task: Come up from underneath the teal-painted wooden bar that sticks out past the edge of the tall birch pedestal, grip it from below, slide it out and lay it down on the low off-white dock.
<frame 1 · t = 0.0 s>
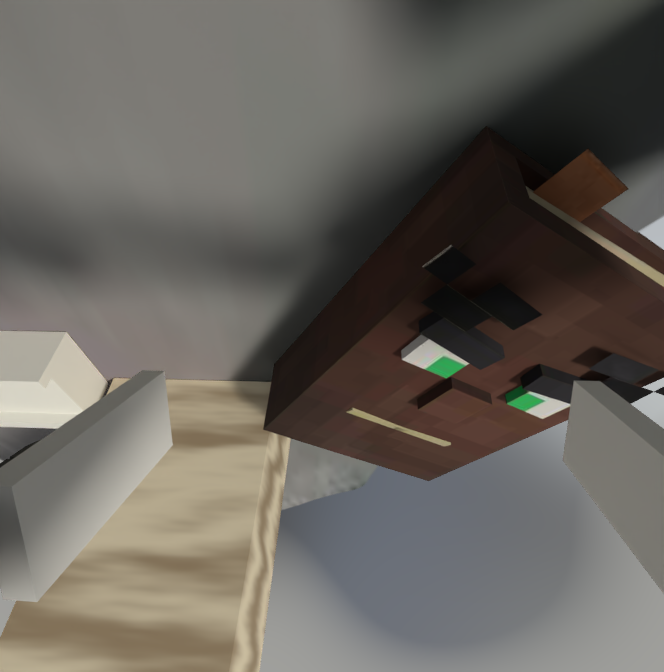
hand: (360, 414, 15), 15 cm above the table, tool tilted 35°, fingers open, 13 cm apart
decorative book: (444, 317, 35), on the table
dock: (12, 357, 42), on the table
pedestal: (208, 406, 47), on the table
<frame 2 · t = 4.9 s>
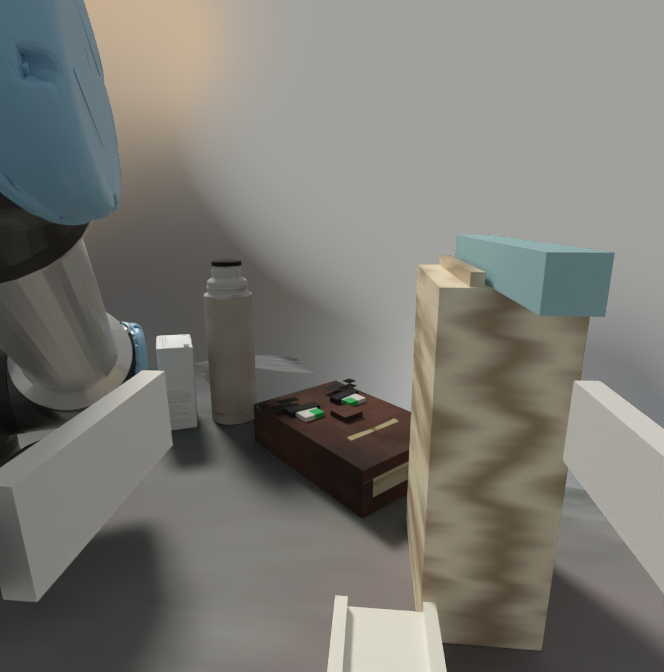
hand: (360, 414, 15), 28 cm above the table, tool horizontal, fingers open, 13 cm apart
bar: (503, 282, 33), point 30 cm above the table, touching pedestal
decorative book: (346, 458, 69), on the table
skincare box: (180, 421, 80), on the table
thermos bottle: (235, 416, 82), on the table
pedestal: (461, 573, 45), on the table
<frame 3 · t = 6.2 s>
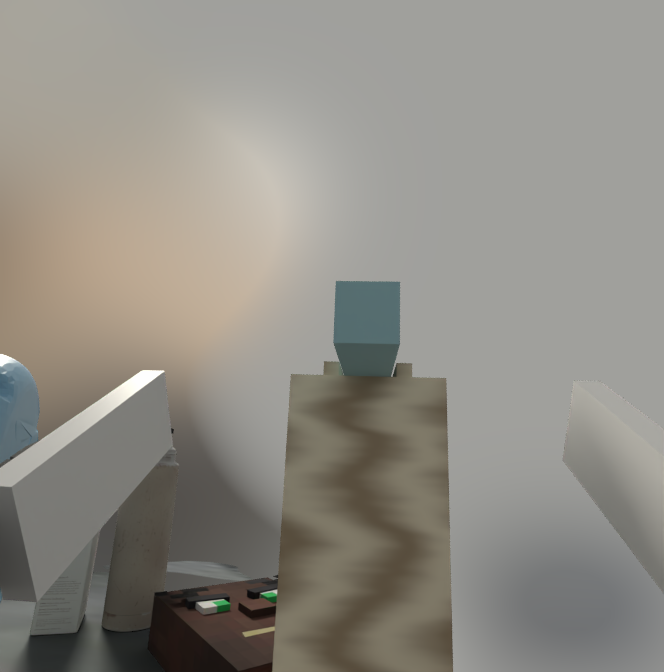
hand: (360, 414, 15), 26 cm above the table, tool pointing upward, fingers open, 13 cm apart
bar: (367, 383, 32), point 30 cm above the table, touching pedestal
skincare box: (60, 626, 64), on the table
thermos bottle: (131, 623, 66), on the table
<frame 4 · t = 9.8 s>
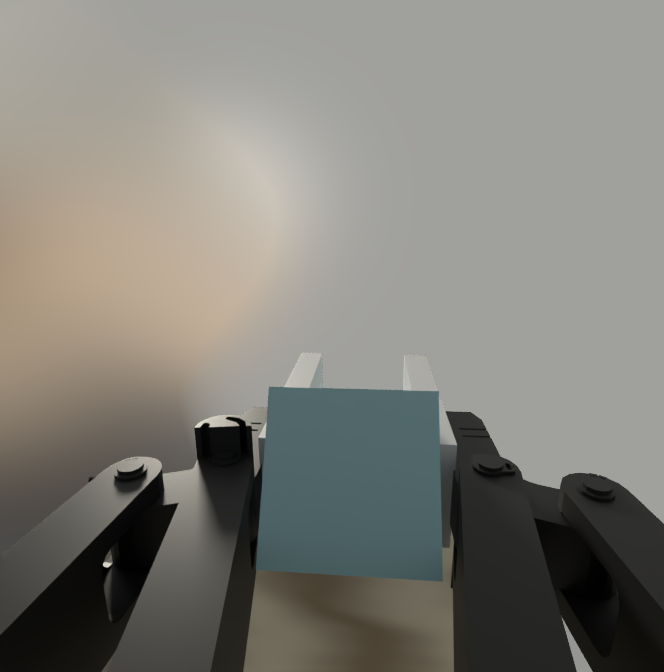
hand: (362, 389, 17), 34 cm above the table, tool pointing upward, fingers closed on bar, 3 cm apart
bar: (361, 501, 19), point 30 cm above the table, touching gripper, pedestal
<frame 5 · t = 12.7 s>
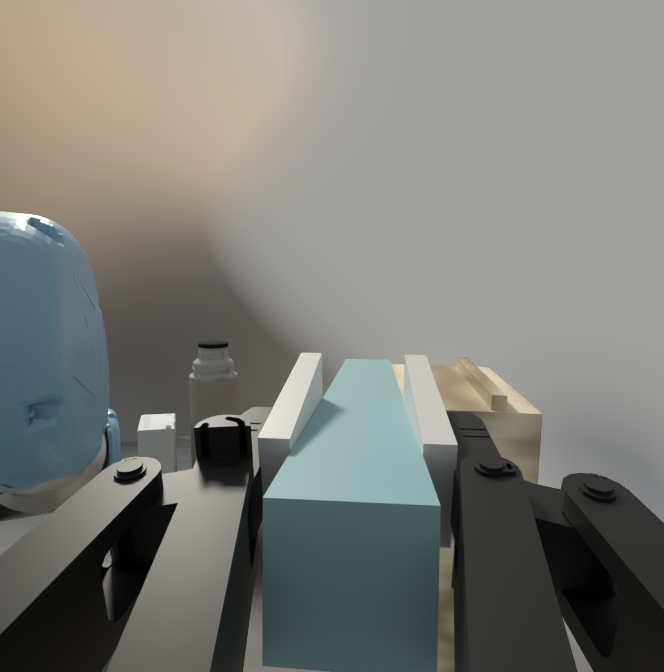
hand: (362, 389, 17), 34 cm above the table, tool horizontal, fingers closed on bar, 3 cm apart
bar: (363, 455, 20), point 31 cm above the table, touching gripper
skincare box: (159, 504, 78), on the table
thermos bottle: (216, 499, 80), on the table
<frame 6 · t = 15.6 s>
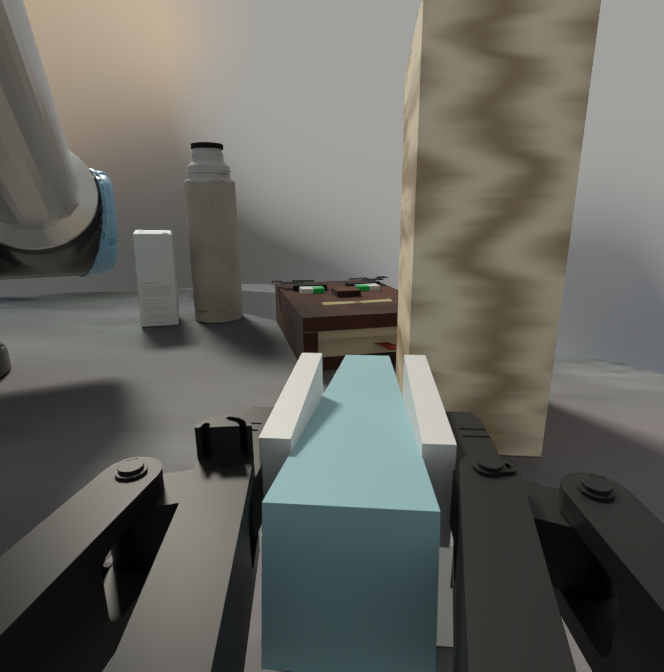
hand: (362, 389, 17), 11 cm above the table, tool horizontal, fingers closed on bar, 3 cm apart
bar: (362, 453, 20), point 8 cm above the table, tilted 12°, touching gripper
decorative book: (345, 341, 66), on the table
skincare box: (161, 322, 76), on the table
thermos bottle: (219, 318, 78), on the table
dock: (362, 523, 27), on the table
pedestal: (454, 409, 42), on the table
when the fingers open (7 cm above the table, at t = 16.6 s): bar stays where it is, resting on dock.
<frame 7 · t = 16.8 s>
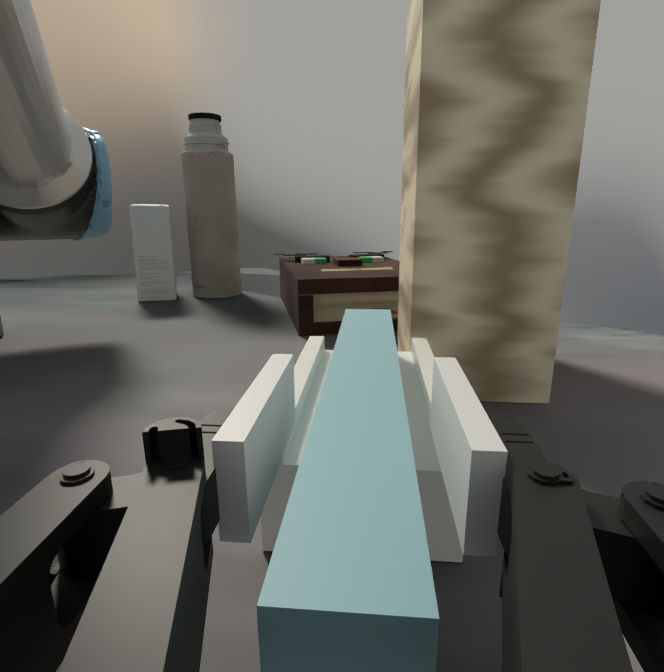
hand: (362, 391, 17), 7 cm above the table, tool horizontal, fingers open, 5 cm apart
bar: (363, 433, 20), point 4 cm above the table, touching dock
decorative book: (347, 313, 64), on the table
skincare box: (159, 298, 75), on the table
thermos bottle: (217, 295, 77), on the table
dock: (364, 458, 25), on the table
pedestal: (457, 365, 40), on the table
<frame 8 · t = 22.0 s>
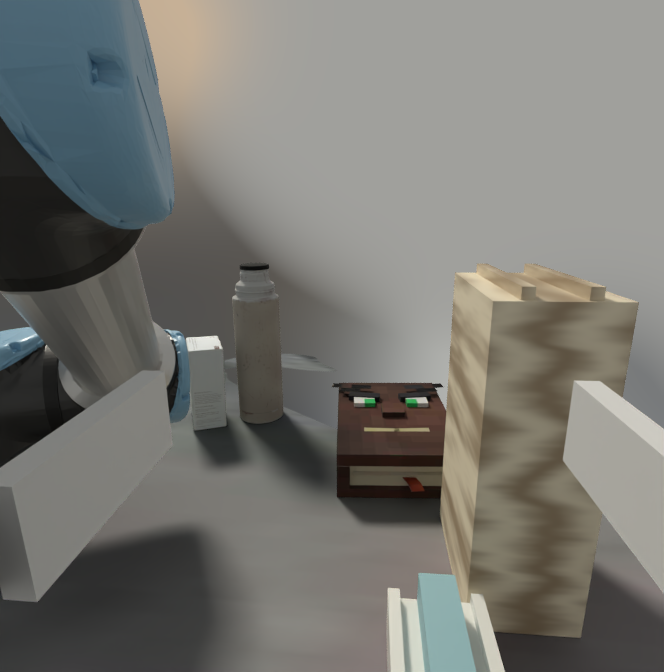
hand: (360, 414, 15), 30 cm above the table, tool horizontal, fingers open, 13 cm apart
decorative book: (391, 452, 72), on the table
skincare box: (209, 420, 83), on the table
thermos bottle: (261, 415, 85), on the table
pedestal: (498, 566, 48), on the table
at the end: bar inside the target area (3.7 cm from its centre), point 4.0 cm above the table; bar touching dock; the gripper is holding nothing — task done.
